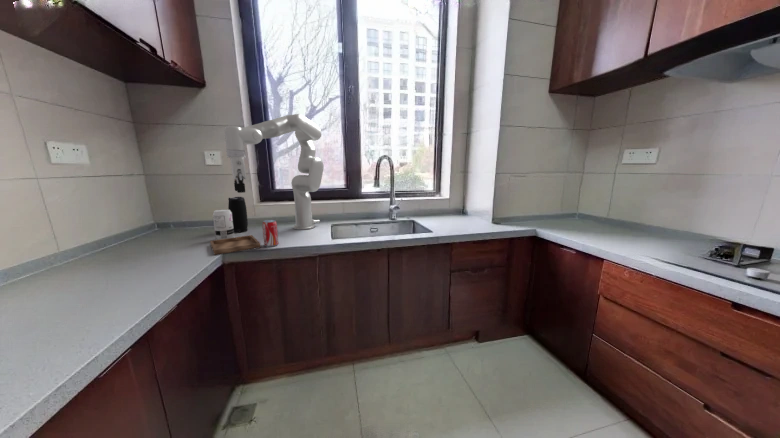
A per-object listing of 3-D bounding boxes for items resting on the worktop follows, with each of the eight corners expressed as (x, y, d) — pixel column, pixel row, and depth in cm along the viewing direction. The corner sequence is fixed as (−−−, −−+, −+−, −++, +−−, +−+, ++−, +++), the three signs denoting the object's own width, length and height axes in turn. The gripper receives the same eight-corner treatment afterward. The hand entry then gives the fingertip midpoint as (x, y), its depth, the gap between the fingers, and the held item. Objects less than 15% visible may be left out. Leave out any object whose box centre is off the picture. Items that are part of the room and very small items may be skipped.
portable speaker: (228, 233, 150) (224, 198, 147) (235, 229, 159) (231, 196, 156) (245, 232, 152) (241, 198, 148) (250, 229, 161) (247, 196, 157)
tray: (252, 239, 139) (251, 235, 139) (260, 247, 125) (260, 243, 125) (210, 245, 128) (210, 240, 128) (214, 255, 114) (214, 250, 114)
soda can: (277, 246, 127) (275, 221, 124) (263, 247, 125) (260, 222, 123) (279, 242, 133) (277, 218, 130) (265, 243, 131) (263, 219, 128)
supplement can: (213, 239, 138) (210, 210, 135) (231, 236, 144) (228, 208, 141) (218, 242, 133) (215, 212, 130) (237, 239, 139) (233, 210, 136)
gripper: (248, 154, 120) (251, 192, 123) (242, 155, 134) (246, 189, 137) (228, 153, 116) (233, 193, 119) (225, 154, 130) (229, 190, 133)
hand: (240, 191), depth 128 cm, fingers open, 9 cm apart
